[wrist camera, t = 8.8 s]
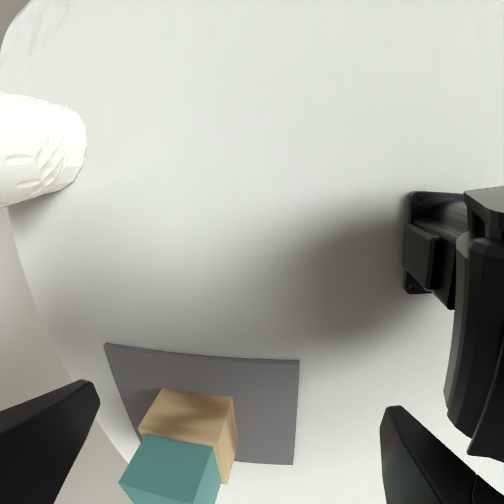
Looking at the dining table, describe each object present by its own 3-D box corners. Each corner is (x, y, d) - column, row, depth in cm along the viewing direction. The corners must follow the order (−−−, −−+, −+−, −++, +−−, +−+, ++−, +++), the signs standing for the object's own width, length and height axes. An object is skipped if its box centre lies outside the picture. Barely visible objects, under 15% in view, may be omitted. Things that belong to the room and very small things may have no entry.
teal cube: (212, 446, 17) (192, 503, 12) (221, 480, 18) (206, 530, 13) (146, 433, 18) (118, 482, 13) (162, 469, 19) (142, 513, 14)
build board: (299, 360, 20) (299, 364, 20) (293, 461, 24) (292, 464, 23) (106, 343, 23) (103, 345, 22) (142, 440, 26) (140, 443, 26)
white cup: (27, 120, 19) (-63, 120, 9) (90, 85, 17) (-13, 60, 8) (36, 206, 21) (-57, 231, 11) (100, 185, 19) (-13, 206, 10)
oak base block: (232, 396, 21) (217, 443, 17) (238, 441, 23) (227, 484, 18) (162, 387, 22) (137, 427, 18) (176, 432, 24) (158, 470, 19)
